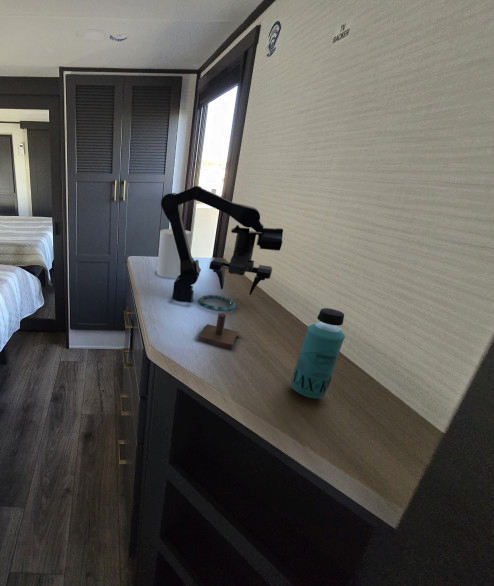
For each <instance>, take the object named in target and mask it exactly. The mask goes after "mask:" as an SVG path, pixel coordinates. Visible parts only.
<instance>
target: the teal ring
mask: <svg viewBox="0 0 494 586" xmlns="http://www.w3.org/2000/svg"><path fill="white" fill-rule="evenodd" d="M207 300H218V301H224V302H226V303H227V304H229V305H228V306H216V305H211V304H208V303H207V302H205V301H207ZM197 303H198V304H199V306H201V307H203V308H206V309H208V310H211V311H216V312H230V311H234V310H236V309H237V307H238V304H237V303H236V302H235V300H234V299H231V298H229V297H227V296H223V295H218V294H205V295H202V296H200V297H199V298H198V299H197Z"/></svg>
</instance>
